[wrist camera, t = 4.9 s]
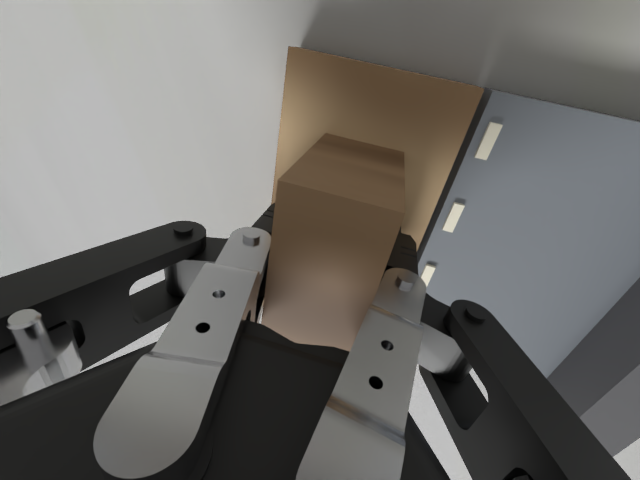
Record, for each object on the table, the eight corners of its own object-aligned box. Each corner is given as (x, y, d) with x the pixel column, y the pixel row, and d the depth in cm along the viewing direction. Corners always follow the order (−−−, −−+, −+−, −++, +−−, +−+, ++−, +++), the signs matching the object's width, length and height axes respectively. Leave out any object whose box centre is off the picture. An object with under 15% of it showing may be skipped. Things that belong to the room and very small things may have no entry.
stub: (298, 47, 12) (204, 38, 6) (477, 86, 11) (552, 114, 6) (268, 289, 18) (208, 392, 12) (381, 322, 17) (371, 447, 12)
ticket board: (491, 71, 11) (525, 77, 8) (885, 155, 10) (1104, 199, 7) (384, 329, 18) (380, 385, 15) (608, 396, 17) (654, 472, 14)
